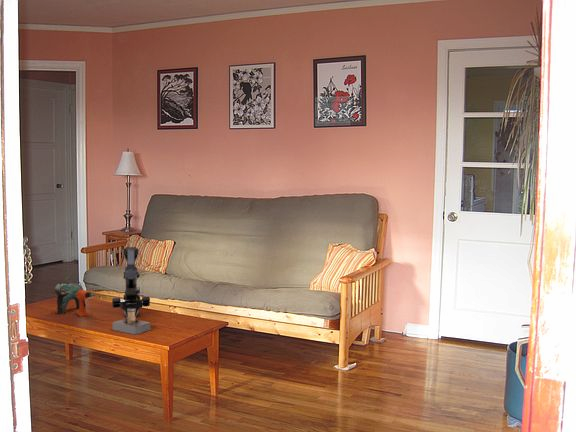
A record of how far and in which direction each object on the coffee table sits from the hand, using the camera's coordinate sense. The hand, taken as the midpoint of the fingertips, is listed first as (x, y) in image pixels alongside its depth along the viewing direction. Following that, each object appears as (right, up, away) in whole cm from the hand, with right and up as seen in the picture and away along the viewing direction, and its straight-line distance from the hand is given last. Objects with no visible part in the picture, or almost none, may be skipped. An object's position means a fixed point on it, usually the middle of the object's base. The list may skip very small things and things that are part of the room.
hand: (131, 316), depth 308 cm
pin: (0, -6, +2) cm, 7 cm away
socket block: (0, -7, +2) cm, 8 cm away
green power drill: (-46, -4, +41) cm, 62 cm away
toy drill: (-32, -5, +28) cm, 43 cm away
